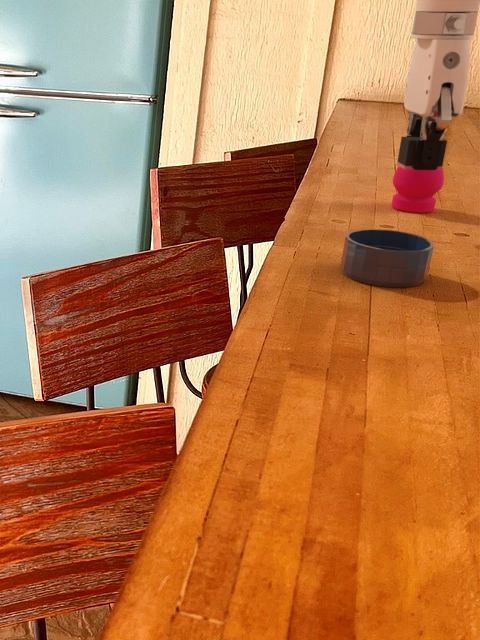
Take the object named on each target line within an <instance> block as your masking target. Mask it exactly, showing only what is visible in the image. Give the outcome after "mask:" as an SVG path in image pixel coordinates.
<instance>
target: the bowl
mask: <svg viewBox="0 0 480 640" xmlns="http://www.w3.org/2000/svg"><path fill="white" fill-rule="evenodd" d="M434 248H435V243H434V242H433V241H432V240H431V239H429V238H426V237H424V236H421V235H418V234H414V233H411V232H405V231H400V230H395V229H394V230H393V229H381V228H362V229H356V230H351V231H349V232H347V233H346V234H345V238H344V244H343V249H342V255H341V261H340V262H341V263H340V269H341V270H342V272H343V274H344V275H345V276H346V277H348V278H349V279H352V280H353V281H356V282H358V283H363V284H366V285H371V286H376V287H384V288H385V287H386V288H410V287H415V286H418V285H419V286H420V284H422V283H423V281H424V280H426V279H428V277H429V276H428V275H429V270H430V267H431V261H432V256H433V253H434Z"/></svg>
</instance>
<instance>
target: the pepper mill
mask: <svg viewBox="0 0 480 640" xmlns="http://www.w3.org/2000/svg"><path fill="white" fill-rule="evenodd" d="M433 116H438V113H434V115H433ZM432 122H435V121H432ZM447 130H448V129H447V128H446V129H445V132H446V131H447ZM444 173H445V172H444V168H443V167H442V170H405V169H403V168H401V167H399V166H397V168H396V170H395V171H394V174H393V176H392V185H393V187H394V188H395V190H396V191H397V192H396V193H395V194H394V195H392V199H391V204H390V205H391V207H392V208H393V209H394V210H397V211H400V212H405V213H412V214H429V213H432V212H434V211H435V208H436V203H437V199H436V198H435V197H434V196H435V195H436V194H437V193H438V192H440V191H441V189H442V188H443V186H444V179H445V176H444V175H445V174H444Z"/></svg>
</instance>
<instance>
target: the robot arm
mask: <svg viewBox="0 0 480 640" xmlns="http://www.w3.org/2000/svg"><path fill="white" fill-rule="evenodd" d="M479 10H480V0H416V5H415V13H414V17H413V22H412V28H411V36H410V39H414V40H415V43H414V47H413V51H412V55H411V60H410V64H409V69H408V74H407V78H406V84H405V91H404V100H403V106H404V108H405V109H406V110H407V114H408V123H407V128H406V137H420V140H417V142H416V147H415V153H414V159H413V165H412V168H413V169H414V170H436V169H437V168H438V163H439V157H440V152H441V146H442V141H443V139H444V140H445V133H446V131H445V129H447V128H448V126H450V124H451V122H452V118H459V117H460V116H462V114H463V112H464V107H465V100H466V94H467V87H468V79H469V72H470V71H469V70H470V63H471V62H470V61H471V40H473V39H474V37H475V31H476V26H477V22H478V21H477V20H478V16H479V12H480V11H479ZM434 113H438V116H433V115H434ZM432 121H435V122H432Z"/></svg>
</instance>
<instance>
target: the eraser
mask: <svg viewBox="0 0 480 640" xmlns="http://www.w3.org/2000/svg"><path fill="white" fill-rule="evenodd" d="M417 140H420V137H407V136H401V138H400V145H399V150H398V157H397V162H396V167H398V166H399V167H401V168H403V169H405V170H414V169H413V168H412V165H413V159H414V153H415V147H416V142H417ZM447 144H448V140H446V139H445V138H444V139H443V141H442V146H441V152H440V157H439V163H438V168H437V169H436V170H442V168H443V166H444V159H445V155H446V149H447Z"/></svg>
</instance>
